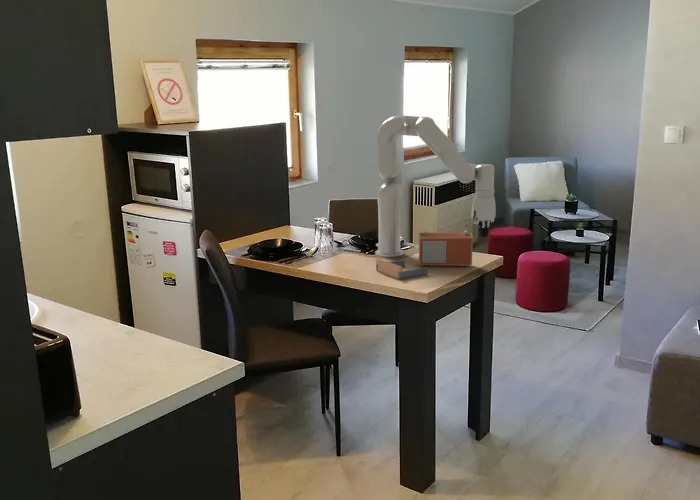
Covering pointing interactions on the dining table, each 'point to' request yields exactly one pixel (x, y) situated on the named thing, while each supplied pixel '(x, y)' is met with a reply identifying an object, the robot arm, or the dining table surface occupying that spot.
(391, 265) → the docking guide
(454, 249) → the control panel
